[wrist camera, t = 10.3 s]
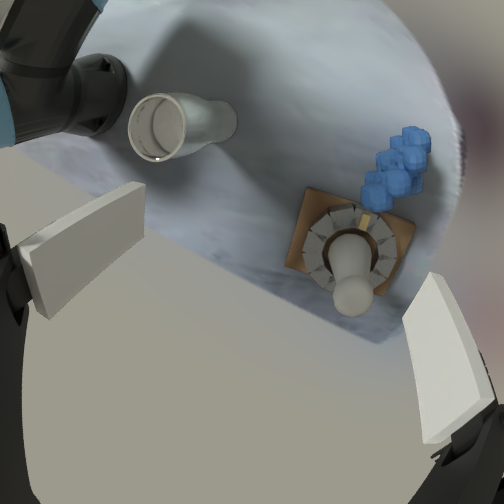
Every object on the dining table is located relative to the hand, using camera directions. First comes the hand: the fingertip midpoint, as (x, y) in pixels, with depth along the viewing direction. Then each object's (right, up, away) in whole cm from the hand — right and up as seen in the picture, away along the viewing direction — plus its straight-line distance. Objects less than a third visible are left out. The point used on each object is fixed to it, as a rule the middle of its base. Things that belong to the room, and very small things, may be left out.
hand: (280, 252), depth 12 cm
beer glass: (-6, +18, +24) cm, 30 cm away
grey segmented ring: (+12, +1, +26) cm, 28 cm away
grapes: (+17, +11, +20) cm, 29 cm away
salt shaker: (+12, +1, +26) cm, 29 cm away
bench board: (+13, +1, +27) cm, 29 cm away
